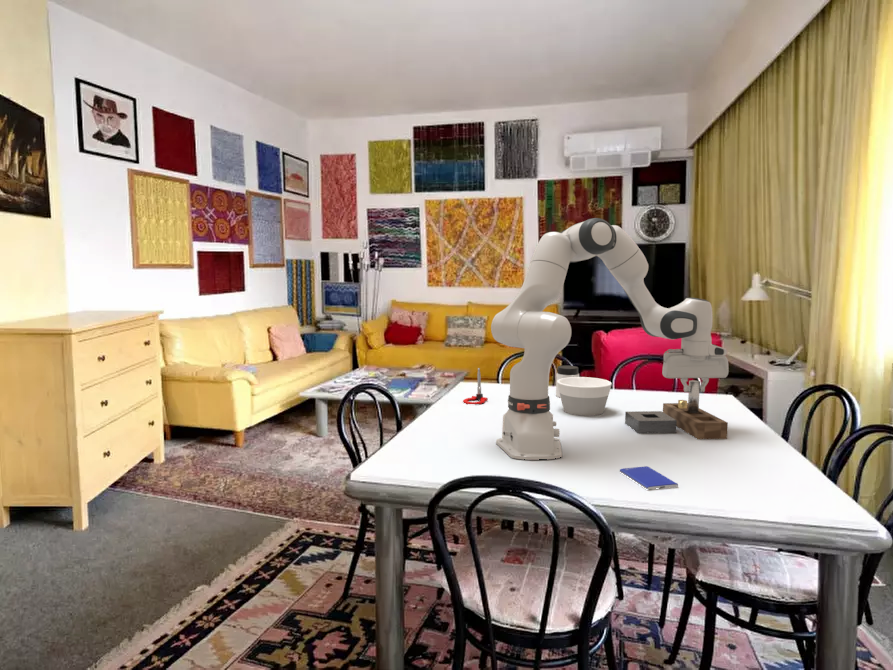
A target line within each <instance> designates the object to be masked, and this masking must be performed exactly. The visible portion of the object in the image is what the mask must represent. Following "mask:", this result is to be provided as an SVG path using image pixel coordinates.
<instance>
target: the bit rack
mask: <svg viewBox="0 0 893 670" xmlns="http://www.w3.org/2000/svg"><path fill="white" fill-rule="evenodd" d="M662 412H663V413H665V414H667V415H668V416H670V417H672V418H673V419H675V420H677V425H676V428H679V429H680V428H681V429H680V430H682V431H683V430H684V432H685V433H687V434H688V433H689V436H691V435H692V436H691V437H693V436H694V437H693V438H695V439H696V438H697V439H696V440H727V439H728V428H729V427H728V426H729V425H728V424H729V423H728V422H727V421H725V420H724V419H721V418H719V417H717V416H715V415H713V414H711V413H709V412H708V411H706V410H704V409H701V408H699V413H689V412H688V402H687V408H678V402H671V403H670V402H668V403H667V402H665V403H664V402H663V404H662Z"/></svg>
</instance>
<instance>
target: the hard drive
mask: <svg viewBox="0 0 893 670" xmlns="http://www.w3.org/2000/svg"><path fill="white" fill-rule="evenodd" d="M619 472H621V473H623V474H624V475H626V476H628V477H629V478H631V479H632V480H634V481H635V482H637V483H638V484H640V485H641V486H643V487H644V488H646V489H656V488H666V489H670V488H669V487H676V488H678V487H679V484H678V482H675V481H673V480H672V479H670V478H668V477H666V476H665V475H663V474H661V473H660V472H658V471H657V470H654V469H653V468H651V467H650V466H645V465H644V466H636V467H625V468H619ZM621 473H620V474H621ZM624 475H623V476H624ZM629 478H628V479H629ZM632 480H631V481H632ZM635 482H634V483H635ZM638 484H637V485H638ZM641 486H640V487H641ZM643 487H642V488H643ZM644 488H643V489H644ZM646 489H645V490H646ZM656 490H657V489H656Z"/></svg>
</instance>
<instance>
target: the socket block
mask: <svg viewBox="0 0 893 670" xmlns="http://www.w3.org/2000/svg"><path fill="white" fill-rule="evenodd" d="M624 424H625V425H626V424H627V425H626V426H628V427H629V426H630V427H631V428H630V427H629V428H630V429H631V430H633V429H634V430H635V431H634V430H633V431H634V432H636V434H638V433H639V434H676V433H677V426H676V425H677V420H675V419H673V418H672V417H670V416H668V415H667V414H665V413H663V410H653V411H652V410H647V411H645V410H643V411H641V410H640V411H625V416H624Z"/></svg>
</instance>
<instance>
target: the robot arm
mask: <svg viewBox="0 0 893 670" xmlns="http://www.w3.org/2000/svg"><path fill="white" fill-rule="evenodd" d="M594 257H598V258H599V259H600V260H602V263H603V264H604V265H605V267H606V268H607V269H608V271H609V273H610V274H611V275H612V276H613V277H614V279H615V280H616V281H617V282H618V284H619V285H620V286H621V287H622V290H624V292H625V294H626V296H627V297H628V299H629V301H630V302H631V304H632V305H633V307H634V308H635V310H636V312H637V314H638V316H639V319H640V324H641V327H642V329H643V331H644V332H645V334H647V335H649V336H650V337H654V338H656V337H657V338H663V339H668V340H678V339H681V340H680V341H681V345H680V348H676V349H675V348H674V349H673V348H669V349H667V350H665V351H664V353H663V358H662V359H663V365H662V373H661V374H662V376H663V377H664V378H666V379H680V382H681V384H682V385H683V391H684V393H689V392H690V391H691V390H690V389H691V387H690V386H689V384H687V382H689V379H701V382H700V392H699V393H704V392H705V391H706V387H707V385H708V383H709V381H710V379H720V378H721V379H726V378H727V377H728V375H729V372H730V371H729V369H730V368H729V360H728V357H727V356H726V355H727V354H728V350H727V348H725V347H721V346H718V345H717V344H713V343H712V338H713V337H712V334H711V331H712V329H713V320H714V319H713V316H714V315H713V307H712V303H711V302H710V301H709V300H707V299H704V298H697V297H686V298H685V299H684V300H683V301H681V302H680V303H678V304H676V305H674V306H671V307H668V308H667V307H664V306H661V305H660V304H659V303H657V302H656V301H655V298H654V297H653V296H652V294H651V292H650V291H649V289H648V288H647V286H646V284H645V281H644V278H646V276H647V274H648V271H649V263H648V261H647V258H646V256H645V255H644V253H643V251H642V250H641V249H640V248H639V246H638V244H637V243H636V242H635V241H634V239H633V238H632V237H631V236H630V234H628V233H627V232H626V231H625V230H624V229H623V228H621V227H620V226H619V225H615V224H612V225H611V224H610V222H608V221H607V220H606V219H603V218H600V217H594V218H588V219H587V220H584V221H582V222H581V221H580V222H578V223H575V224H573V225H571V226H569V227H568V228H567V229H564V230H562V231H560V232H559V231H549V232H546V233H544V234H543V235H542V236H541V238H539V241H538V243H537V245H536V247H535V248H534V252H533V254H532V257H531V258H530V259H531V260H530V263H529V266H528V269H527V272H526V275H525V278H524V281H523V284H522V286H521V288H520V290H519V291H518V293H517V294H516V296H515V297H514V299H513V300H511V302H510V303H509V304H508V305H507V306H506V307H505V308H504V309H502V310H501V311H499V312H497V313H496V314H495V315H494V317H493V319H492V320H491V325H490V329H491V335H492V338H493V339H494V340H495V341H496V342H497V343H499V344H502V345H505V346H507V347H512V348H519V349H520V348H521V349H524V353H523V356H522V359H521V361H519V362H517V363H515V364H514V365H513V366H512V367H511V369H510V372H509V395H507V396H508V399H507V408H508V409H507V411H506V412H505V413H504V414H503V415H502V428H501V429H502V432H501V438H497V439H496V440H495V441H496V442H495V443H496V445H497V446H498V447H500V449H501V450H502V451H503V452H505V453H506V454H507V455H508V456H509V457H510V458H512V459H514V460H515V459H516V460H524V459H525V461H528V460H529V461H530V460H531V461H540V460H539V459H547V460H556V459H560V457H561V458H562V457H563V452H562V445H561V439H560V435H561V434H560V432H561V430H560V429H559V428H554V427H556V426H557V421H554V414H553V413H552V412H551V411H550V410H551V401H550V400H551V399H550V396H549V385H550V384H549V381H550V372H551V368H552V364H553V362H554V360H555V358H556V356H557V355H558V353H559V352H561V351H562V350H564V348H566V347H567V345H569V343H570V341H571V337H572V326H571V324H570V321H569V320H568V318H567V317H565V316H563V315H560V314H558V313H555V312H550V311H545V309H546V308H547V307H548V306H549V305H551V304H553V303H555V302H556V301H557V300H558V299H559V298H560V296H561V293H562V290H563V287H564V283H565V280H566V276H567V273H568V269H569V265H570V264H574V263H578V262H581V261H586V260H589V259H590V260H591V259H592V258H594ZM555 458H556V459H555Z"/></svg>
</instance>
